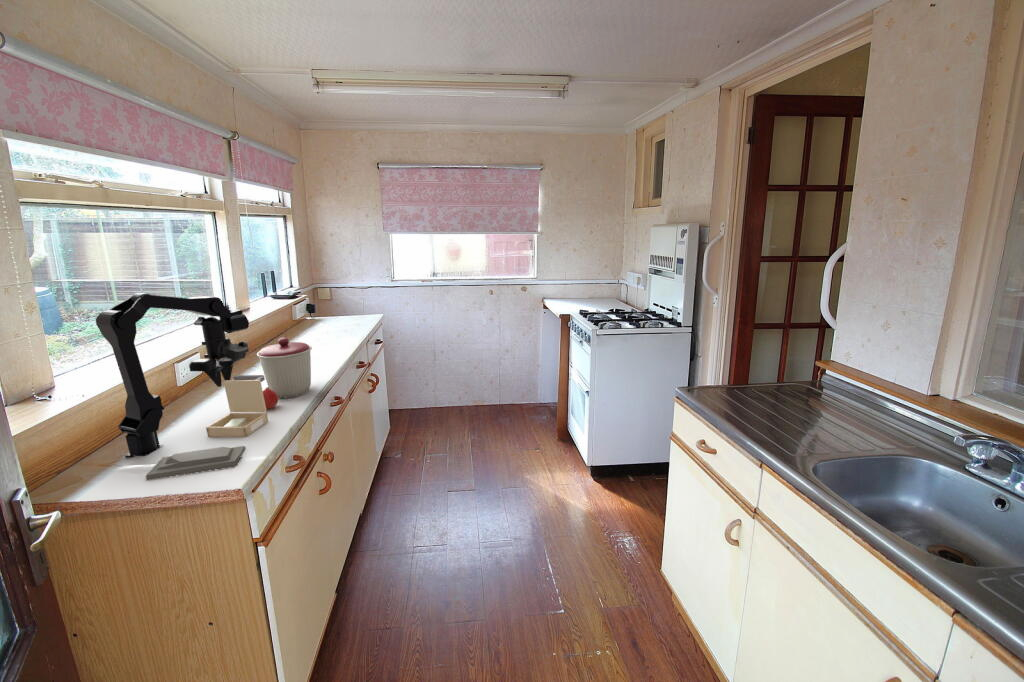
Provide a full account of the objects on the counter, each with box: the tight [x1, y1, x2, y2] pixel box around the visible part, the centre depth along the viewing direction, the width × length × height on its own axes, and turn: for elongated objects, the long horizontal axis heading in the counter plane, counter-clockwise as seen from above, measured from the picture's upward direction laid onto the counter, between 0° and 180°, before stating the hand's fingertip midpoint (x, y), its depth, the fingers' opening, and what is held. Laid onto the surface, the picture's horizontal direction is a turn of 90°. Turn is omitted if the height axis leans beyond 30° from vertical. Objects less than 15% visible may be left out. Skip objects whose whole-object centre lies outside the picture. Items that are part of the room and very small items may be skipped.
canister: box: [256, 337, 313, 399], centre depth 176 cm, size 18×18×21 cm
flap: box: [223, 374, 268, 413], centre depth 152 cm, size 10×12×5 cm
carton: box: [205, 412, 269, 438], centre depth 146 cm, size 11×12×3 cm
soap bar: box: [224, 418, 247, 427], centre depth 147 cm, size 6×4×2 cm, turn 5°
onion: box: [262, 386, 279, 410], centre depth 162 cm, size 6×6×8 cm
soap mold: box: [145, 445, 246, 481], centre depth 126 cm, size 10×20×4 cm, turn 105°
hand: (223, 384), depth 154 cm, fingers open, 4 cm apart
